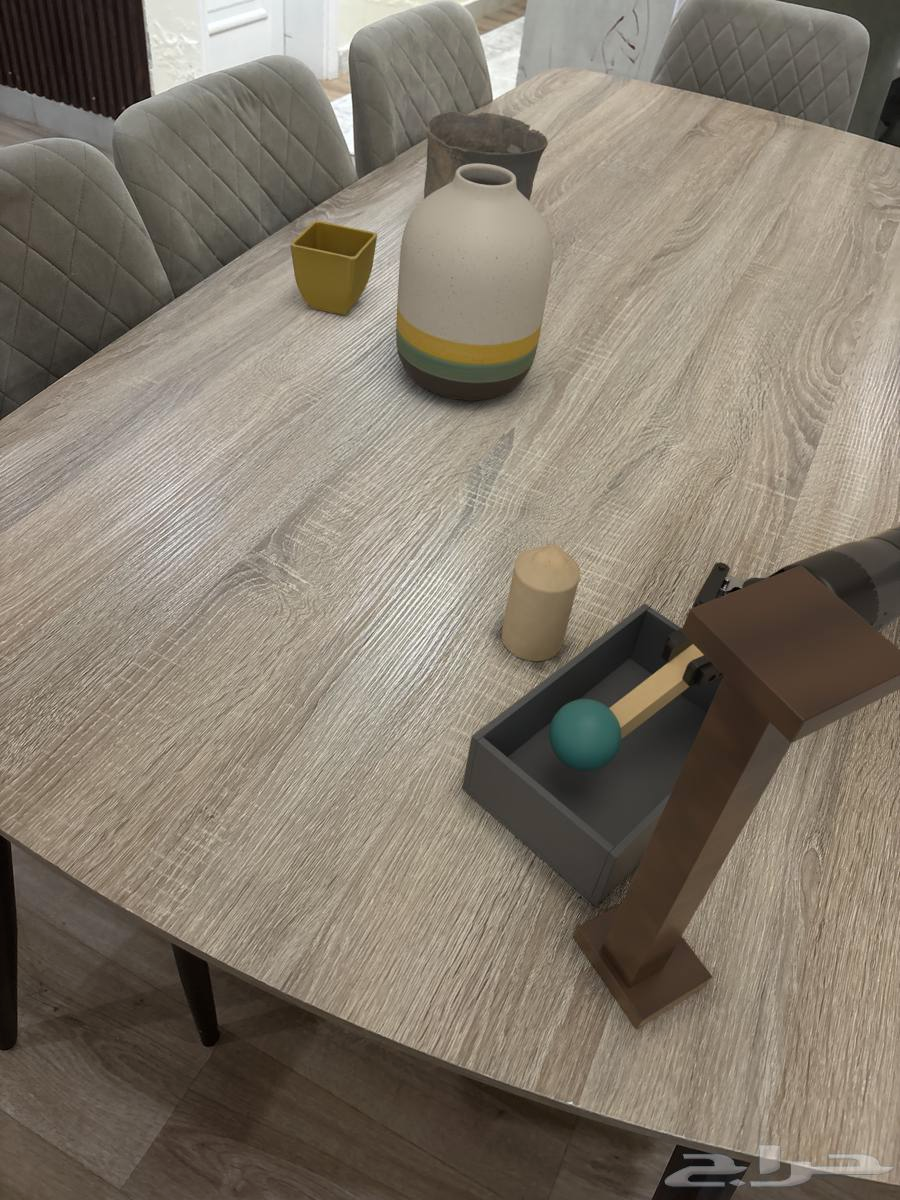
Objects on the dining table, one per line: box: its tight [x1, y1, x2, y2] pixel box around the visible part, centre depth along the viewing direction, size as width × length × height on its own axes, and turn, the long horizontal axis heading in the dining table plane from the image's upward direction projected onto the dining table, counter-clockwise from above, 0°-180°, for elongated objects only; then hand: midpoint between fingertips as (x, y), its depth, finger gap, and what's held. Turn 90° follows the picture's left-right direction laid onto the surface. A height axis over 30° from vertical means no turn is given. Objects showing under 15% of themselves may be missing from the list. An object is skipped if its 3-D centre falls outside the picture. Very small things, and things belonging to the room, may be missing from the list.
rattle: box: [549, 644, 704, 771], centre depth 68 cm, size 5×17×5 cm, turn 120°
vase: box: [395, 163, 554, 401], centre depth 107 cm, size 17×17×24 cm
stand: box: [573, 566, 900, 1030], centre depth 52 cm, size 7×7×32 cm
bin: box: [461, 603, 722, 908], centre depth 72 cm, size 13×21×7 cm, turn 135°
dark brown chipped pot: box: [423, 111, 549, 202], centre depth 140 cm, size 18×18×15 cm
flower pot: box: [289, 220, 378, 316], centre depth 122 cm, size 9×9×9 cm
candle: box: [501, 544, 581, 662], centre depth 80 cm, size 6×6×10 cm
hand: (678, 663), depth 68 cm, fingers closed on rattle
